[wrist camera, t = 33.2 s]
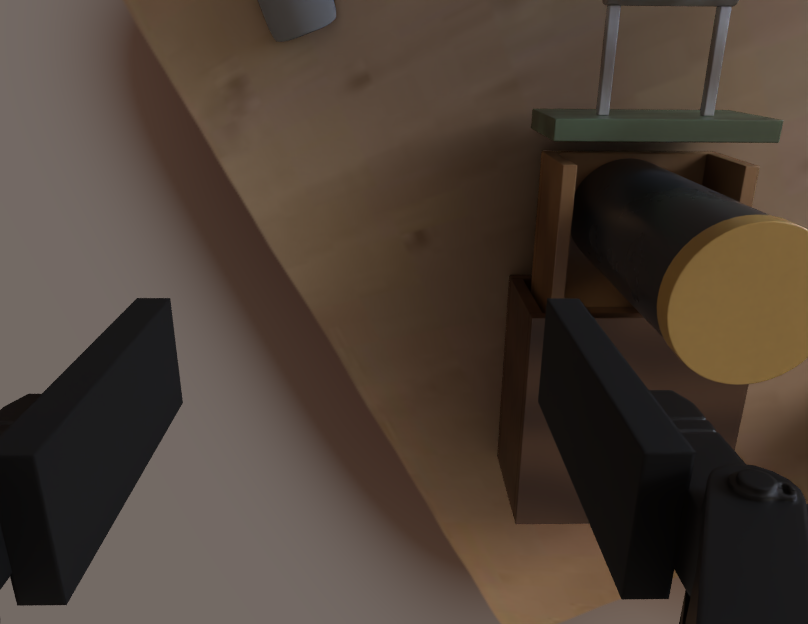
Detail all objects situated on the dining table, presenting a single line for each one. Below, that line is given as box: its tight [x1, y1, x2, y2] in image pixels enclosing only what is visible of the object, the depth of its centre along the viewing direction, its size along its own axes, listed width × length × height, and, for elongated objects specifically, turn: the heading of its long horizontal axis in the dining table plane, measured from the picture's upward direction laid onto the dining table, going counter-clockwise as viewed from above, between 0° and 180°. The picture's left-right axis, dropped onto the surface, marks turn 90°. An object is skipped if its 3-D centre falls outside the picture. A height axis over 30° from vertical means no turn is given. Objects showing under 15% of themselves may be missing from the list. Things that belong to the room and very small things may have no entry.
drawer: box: [531, 0, 783, 313], centre depth 41 cm, size 21×12×6 cm, turn 0°
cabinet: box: [497, 275, 748, 524], centre depth 47 cm, size 15×14×8 cm
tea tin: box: [571, 158, 808, 385], centre depth 36 cm, size 7×7×17 cm
